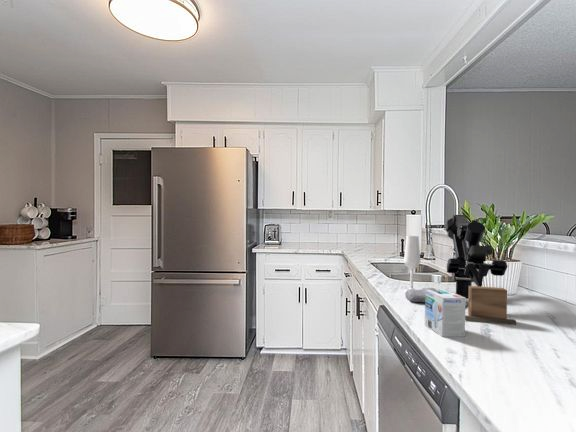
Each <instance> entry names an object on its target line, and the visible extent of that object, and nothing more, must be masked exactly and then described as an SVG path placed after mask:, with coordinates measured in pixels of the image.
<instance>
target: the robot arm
mask: <svg viewBox="0 0 576 432" xmlns="http://www.w3.org/2000/svg"><path fill="white" fill-rule="evenodd" d="M485 231H486V225H484V224H483V223H481V222H479V221H478V219H472V220H471V222H470V221H469V220H468V219H467V216H466V215H465V214H454V215H452V217H451V218H450V219H448V220H447V221H446V223H445V232H446V233H447V234H446V235H447V236H448V237H449V238H450V239H451V240H452V243H453V247H454V253H455V258H453V257H450V258H448V259H447V263H446V273H448V274H451V280H452V281H453V282H455V283H456V284H455V292H454V293H455V294H458V295H460V296H462V297H465V298H467V299H468V296H469V286H473V285H472V283H474V284H475V286H480V287H483V286H482V285H483V281H484V278H485V277H487V276H488V274H489V271H490V274H491V275H492V276H498V277H500V276H501V277H503V276H504V275H505V274H506V271H507V269H508V267H509V266H508V263H507V261H505V260H497V259H495V260H494V259H493V260H492V263H485V262H486V261H487V256H491V255H493V254H494V253H493V246H492V245H490V244H486V245H480V243H481V242H482V241H483V237H484V234H485Z"/></svg>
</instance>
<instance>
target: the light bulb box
mask: <svg viewBox="0 0 576 432" xmlns="http://www.w3.org/2000/svg"><path fill="white" fill-rule="evenodd" d="M455 293H456V292H452V291H450V290H448V289H437V290H425V302H424V326H426V327H427V328H429V329H431V331H433V332H434V333H436V334H438V336H440V337H442V338H451V337H452V338H457V337H459V338H463V337H466V334H465V333H466V320H465V315H466V307H465V303H466V302H467V300H466V298H465V297H462V296H460V295H458V294H455Z"/></svg>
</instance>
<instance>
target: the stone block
mask: <svg viewBox="0 0 576 432" xmlns="http://www.w3.org/2000/svg"><path fill="white" fill-rule="evenodd" d="M406 290H407V289H406ZM425 290H438V289H437V288H434V287H425V288H421V289H415V290H413V289H409V288H408V290H407V291H406V293H405V295H404V296H405V298H406V299H407V300H409V302H413V303H414V302H415V303H425Z"/></svg>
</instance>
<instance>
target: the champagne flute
mask: <svg viewBox="0 0 576 432" xmlns="http://www.w3.org/2000/svg"><path fill="white" fill-rule="evenodd" d="M405 238H406V239H405V247H404V256H403V263H404V265H405V266H406V267H407V268H408V269H409V270H410V278H409V281H410V282H409V288H408V289H413V290H416V289H415V288H414V270H415V269H417V268H418V267H419V266H420V264H421V253H420V251H421V250H420V241H419V240H420V239H419V236H418V235H406V237H405ZM408 289H407V288H406V289H405V290H403V291H404V292H406V291H407V290H408ZM404 292H403V293H404Z"/></svg>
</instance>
